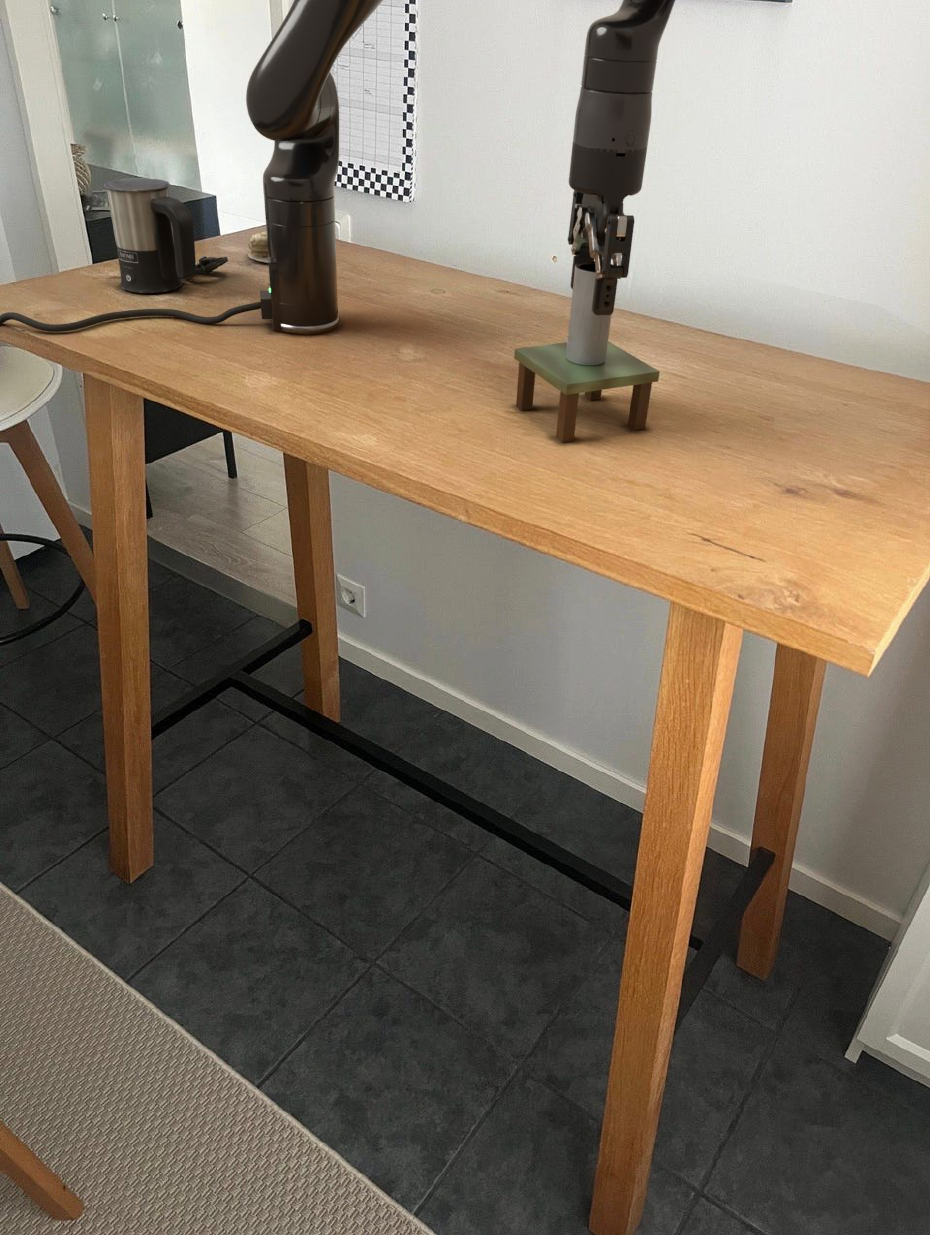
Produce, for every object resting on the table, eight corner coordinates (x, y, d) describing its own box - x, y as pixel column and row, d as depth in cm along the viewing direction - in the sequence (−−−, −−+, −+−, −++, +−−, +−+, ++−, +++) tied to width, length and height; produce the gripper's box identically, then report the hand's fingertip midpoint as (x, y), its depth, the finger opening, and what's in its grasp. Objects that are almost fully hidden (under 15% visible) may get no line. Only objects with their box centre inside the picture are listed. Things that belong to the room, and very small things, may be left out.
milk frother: (108, 291, 149) (91, 186, 140) (158, 265, 161) (145, 167, 153) (195, 301, 146) (183, 195, 138) (239, 274, 159) (230, 175, 151)
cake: (267, 251, 174) (267, 218, 171) (317, 260, 171) (317, 227, 168) (235, 258, 166) (234, 224, 163) (286, 268, 163) (286, 233, 160)
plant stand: (560, 445, 109) (567, 384, 105) (510, 405, 118) (514, 348, 114) (650, 429, 113) (659, 371, 109) (595, 393, 122) (602, 337, 118)
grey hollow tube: (562, 352, 113) (571, 260, 108) (601, 352, 114) (612, 261, 108) (569, 365, 110) (579, 271, 104) (609, 366, 110) (621, 272, 104)
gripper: (556, 127, 104) (541, 283, 113) (594, 151, 92) (575, 323, 101) (624, 129, 105) (604, 283, 114) (670, 153, 94) (644, 322, 103)
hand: (590, 302), depth 108 cm, fingers open, 8 cm apart
